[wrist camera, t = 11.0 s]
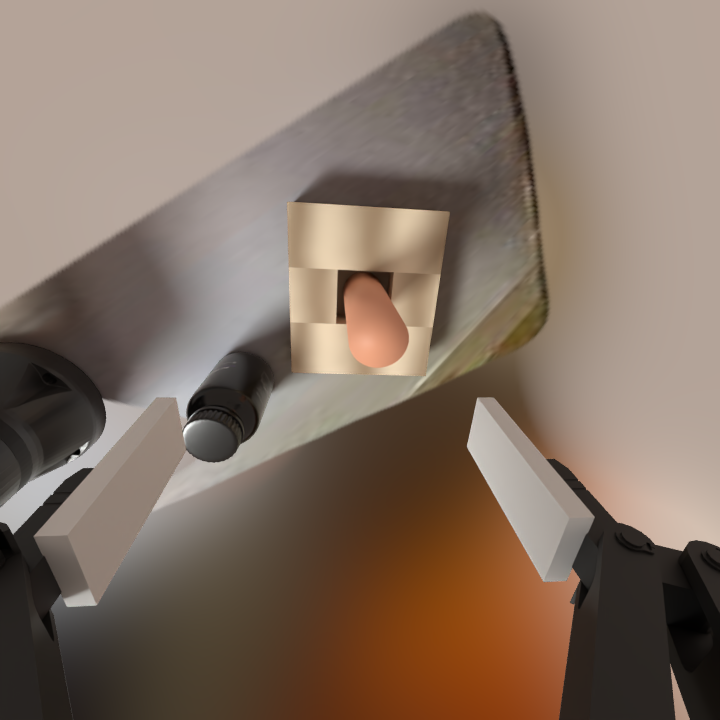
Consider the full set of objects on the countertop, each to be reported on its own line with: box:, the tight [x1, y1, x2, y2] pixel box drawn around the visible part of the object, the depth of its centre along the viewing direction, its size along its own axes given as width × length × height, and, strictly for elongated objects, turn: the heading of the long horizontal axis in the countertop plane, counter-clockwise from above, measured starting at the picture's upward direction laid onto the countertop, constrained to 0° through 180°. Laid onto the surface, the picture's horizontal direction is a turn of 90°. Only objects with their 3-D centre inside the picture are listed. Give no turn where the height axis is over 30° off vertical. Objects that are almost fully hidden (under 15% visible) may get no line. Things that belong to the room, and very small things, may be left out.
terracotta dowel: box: [343, 272, 409, 368], centre depth 29 cm, size 4×4×14 cm
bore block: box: [287, 202, 450, 376], centre depth 35 cm, size 14×16×4 cm
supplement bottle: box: [183, 352, 274, 462], centre depth 35 cm, size 7×7×12 cm
